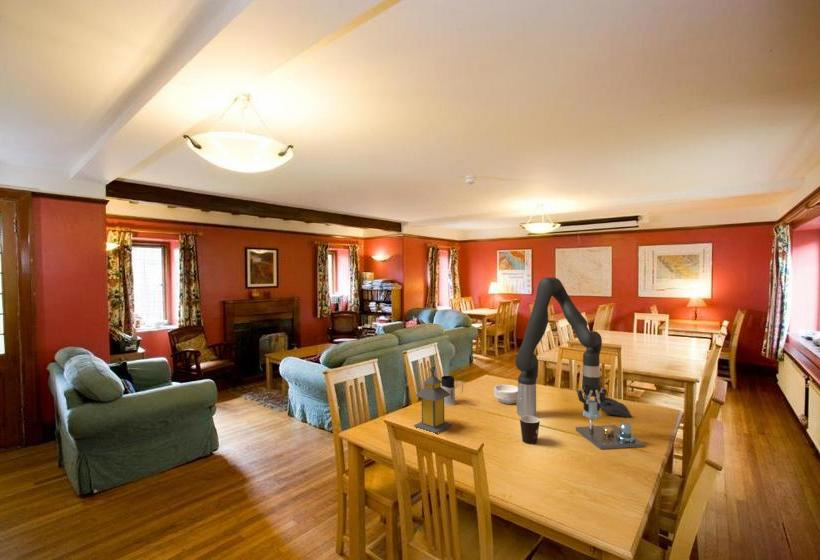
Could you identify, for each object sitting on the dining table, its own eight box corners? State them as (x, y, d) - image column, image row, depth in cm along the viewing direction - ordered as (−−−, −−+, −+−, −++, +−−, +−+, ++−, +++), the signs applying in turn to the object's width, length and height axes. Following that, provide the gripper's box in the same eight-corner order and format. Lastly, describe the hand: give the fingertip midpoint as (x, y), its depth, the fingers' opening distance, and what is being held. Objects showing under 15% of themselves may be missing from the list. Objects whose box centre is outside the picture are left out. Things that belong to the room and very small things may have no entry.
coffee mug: (529, 447, 167) (529, 424, 167) (515, 439, 175) (515, 417, 175) (548, 441, 173) (548, 419, 173) (534, 434, 180) (534, 413, 180)
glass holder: (445, 399, 231) (445, 374, 231) (466, 403, 223) (466, 378, 222) (437, 403, 224) (437, 378, 223) (459, 408, 216) (459, 381, 215)
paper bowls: (524, 405, 219) (523, 391, 218) (497, 405, 219) (497, 392, 219) (516, 396, 234) (516, 384, 234) (491, 397, 234) (491, 384, 234)
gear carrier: (600, 449, 164) (600, 430, 164) (575, 430, 184) (575, 413, 184) (644, 446, 166) (644, 428, 166) (615, 428, 186) (615, 411, 186)
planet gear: (588, 418, 175) (588, 404, 175) (579, 412, 183) (579, 399, 183) (604, 418, 176) (604, 403, 176) (594, 411, 184) (594, 398, 184)
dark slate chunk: (602, 417, 202) (602, 408, 202) (593, 403, 223) (593, 394, 223) (634, 419, 198) (634, 410, 198) (623, 405, 219) (623, 396, 219)
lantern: (453, 426, 191) (452, 366, 191) (435, 435, 181) (434, 371, 180) (431, 419, 201) (430, 361, 200) (413, 427, 191) (412, 367, 190)
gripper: (581, 377, 175) (581, 414, 175) (610, 376, 176) (611, 413, 176) (572, 373, 182) (573, 409, 182) (601, 371, 184) (601, 407, 184)
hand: (591, 410), depth 179 cm, fingers closed on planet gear, 4 cm apart
